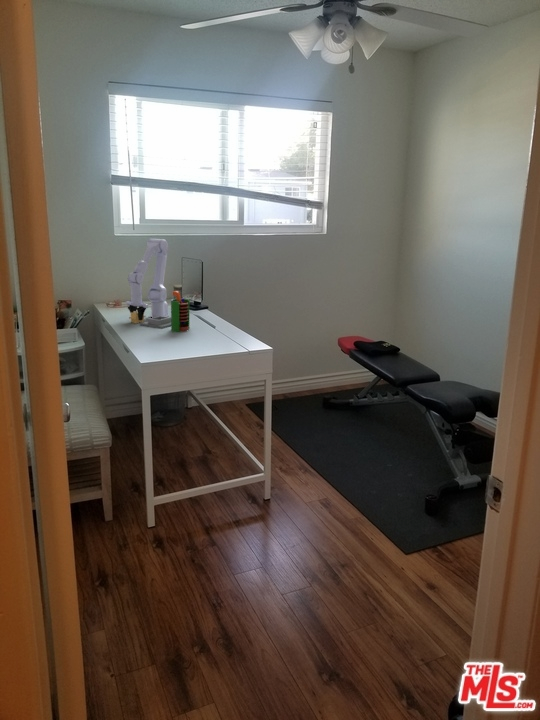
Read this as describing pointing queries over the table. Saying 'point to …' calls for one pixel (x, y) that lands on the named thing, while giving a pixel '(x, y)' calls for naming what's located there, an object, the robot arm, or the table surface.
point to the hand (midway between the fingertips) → (137, 319)
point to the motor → (179, 313)
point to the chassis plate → (158, 322)
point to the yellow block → (136, 317)
